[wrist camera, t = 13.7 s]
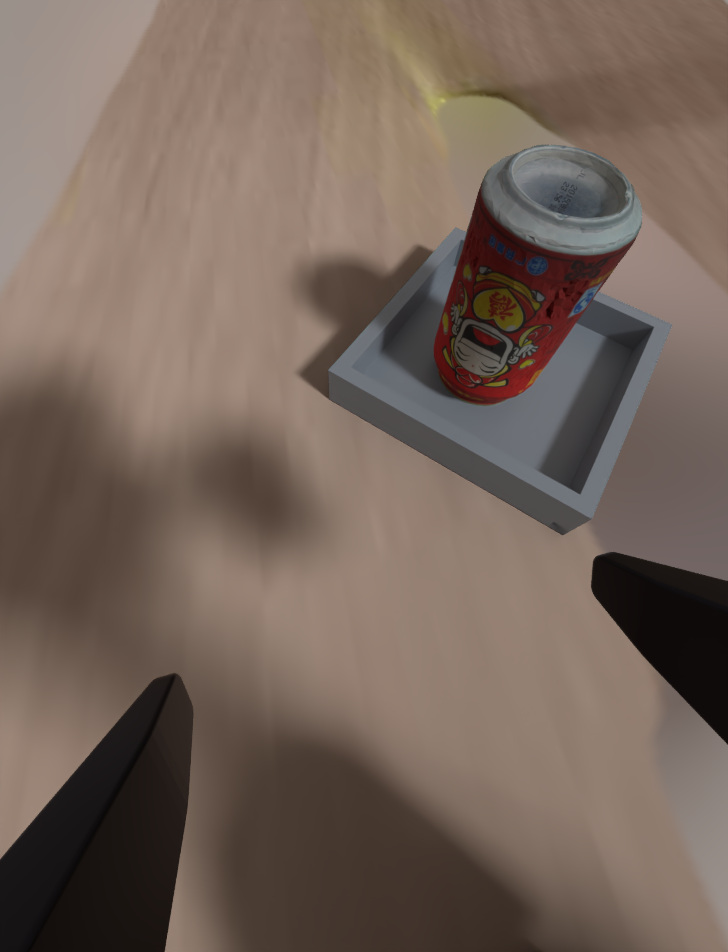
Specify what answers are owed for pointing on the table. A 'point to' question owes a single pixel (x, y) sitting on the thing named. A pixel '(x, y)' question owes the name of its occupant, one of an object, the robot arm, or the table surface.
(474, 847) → the table surface
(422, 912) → the table surface
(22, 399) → the table surface
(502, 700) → the table surface
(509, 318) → the soda can
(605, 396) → the slate tray
